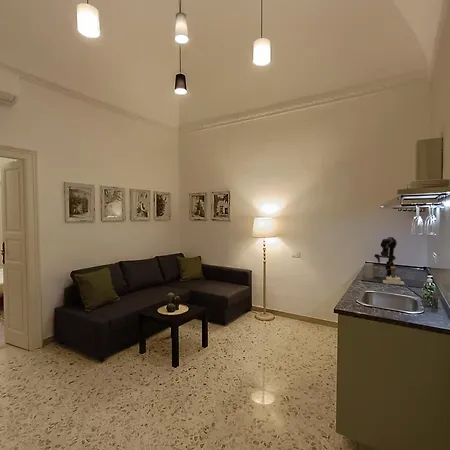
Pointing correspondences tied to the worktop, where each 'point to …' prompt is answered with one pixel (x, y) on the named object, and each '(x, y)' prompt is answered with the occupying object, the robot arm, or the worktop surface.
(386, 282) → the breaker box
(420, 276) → the worktop surface
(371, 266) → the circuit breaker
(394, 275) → the lever
